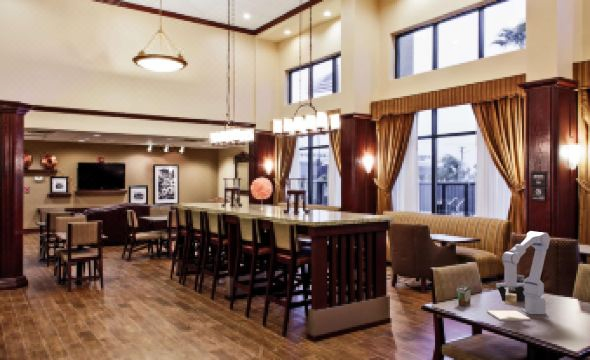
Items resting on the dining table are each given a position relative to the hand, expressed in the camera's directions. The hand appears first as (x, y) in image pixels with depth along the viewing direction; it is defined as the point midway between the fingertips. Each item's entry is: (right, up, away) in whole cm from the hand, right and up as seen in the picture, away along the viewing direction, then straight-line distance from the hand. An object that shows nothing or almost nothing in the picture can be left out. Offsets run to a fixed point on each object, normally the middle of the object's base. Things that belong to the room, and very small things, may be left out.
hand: (510, 301), depth 226 cm
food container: (-16, -9, +24) cm, 30 cm away
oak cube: (0, -2, 0) cm, 2 cm away
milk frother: (+24, -9, +33) cm, 42 cm away
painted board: (-1, -8, +1) cm, 9 cm away
